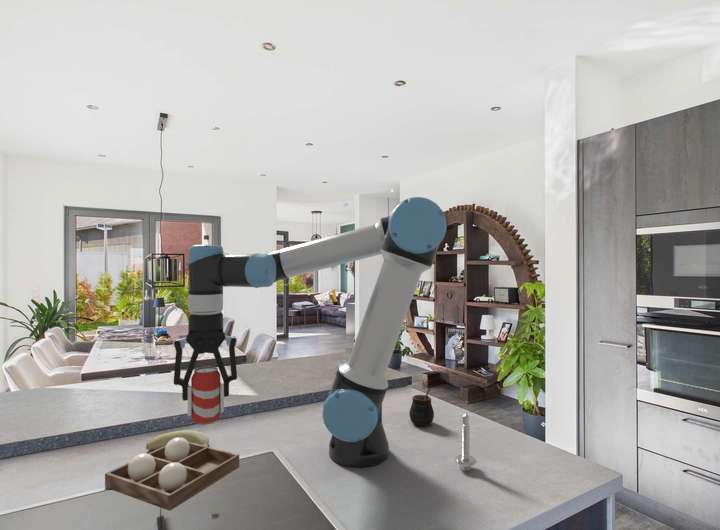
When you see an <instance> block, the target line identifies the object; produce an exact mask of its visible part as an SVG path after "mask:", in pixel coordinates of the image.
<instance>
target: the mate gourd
mask: <svg viewBox="0 0 720 530" xmlns="http://www.w3.org/2000/svg"><path fill="white" fill-rule="evenodd" d="M430 390H431V387H428V389H427V391H426V393H425V394H416V395H413V396H412V397H411V398H412V403H411V406H410V408H409V418H410V421H411V423H412V424H413V425H415V426H417V427H424V428H425V427H427V426H429V425H432V423H433V421H434V418H435V412H434V408H433V406H432V405H433V404H432V397H430V396H428V395H429V393H430Z"/></svg>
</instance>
